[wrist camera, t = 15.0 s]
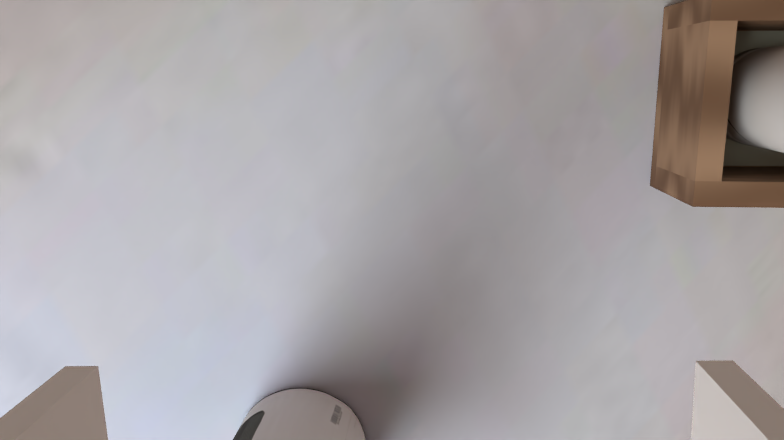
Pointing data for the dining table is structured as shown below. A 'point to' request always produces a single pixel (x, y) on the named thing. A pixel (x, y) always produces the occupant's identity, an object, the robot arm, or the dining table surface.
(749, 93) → the travel mug
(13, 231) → the dining table surface
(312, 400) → the speaker
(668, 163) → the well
